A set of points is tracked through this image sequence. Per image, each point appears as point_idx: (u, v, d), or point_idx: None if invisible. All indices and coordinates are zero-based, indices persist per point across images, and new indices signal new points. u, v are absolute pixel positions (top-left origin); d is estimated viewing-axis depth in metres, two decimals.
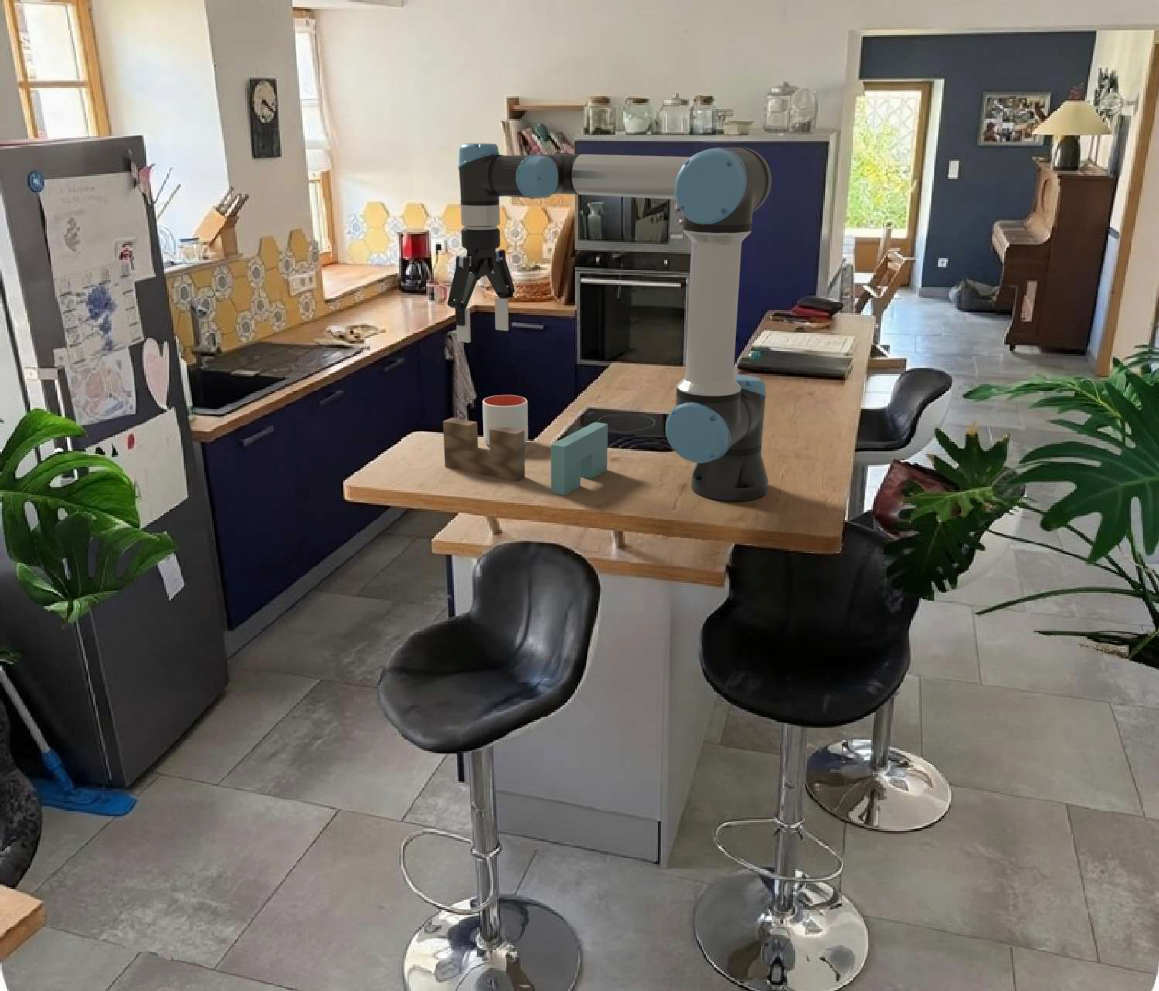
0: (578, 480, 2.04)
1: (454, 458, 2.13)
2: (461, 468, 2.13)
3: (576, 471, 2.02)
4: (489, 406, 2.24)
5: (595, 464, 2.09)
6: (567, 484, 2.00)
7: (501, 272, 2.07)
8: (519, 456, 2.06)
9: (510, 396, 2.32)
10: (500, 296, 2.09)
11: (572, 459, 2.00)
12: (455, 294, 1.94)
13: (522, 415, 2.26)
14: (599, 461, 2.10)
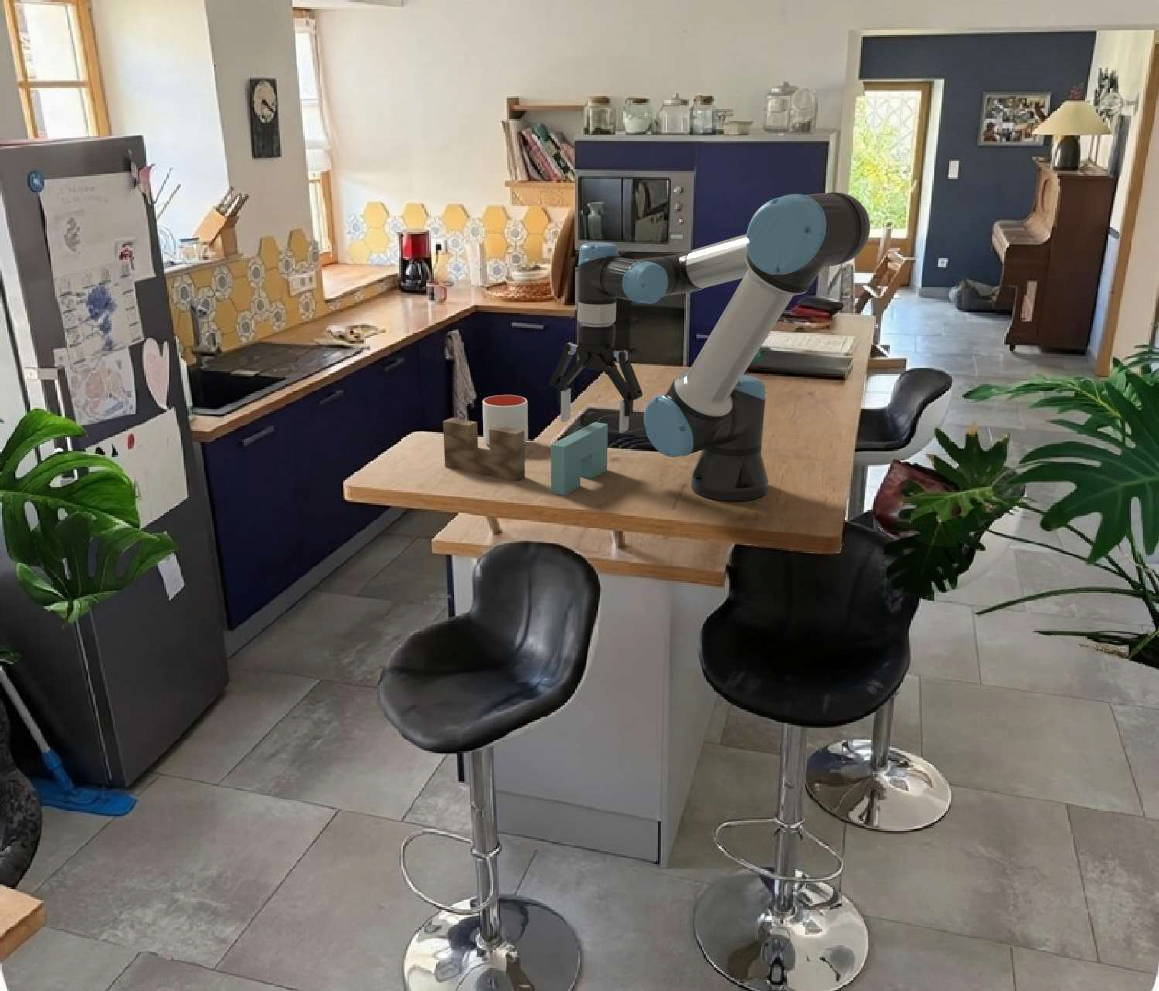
0: (578, 480, 2.04)
1: (454, 458, 2.13)
2: (461, 468, 2.13)
3: (576, 471, 2.02)
4: (489, 406, 2.24)
5: (595, 464, 2.09)
6: (567, 484, 2.00)
7: None
8: (519, 456, 2.06)
9: (510, 396, 2.32)
10: None
11: (572, 459, 2.00)
12: None
13: (522, 415, 2.26)
14: (599, 461, 2.10)
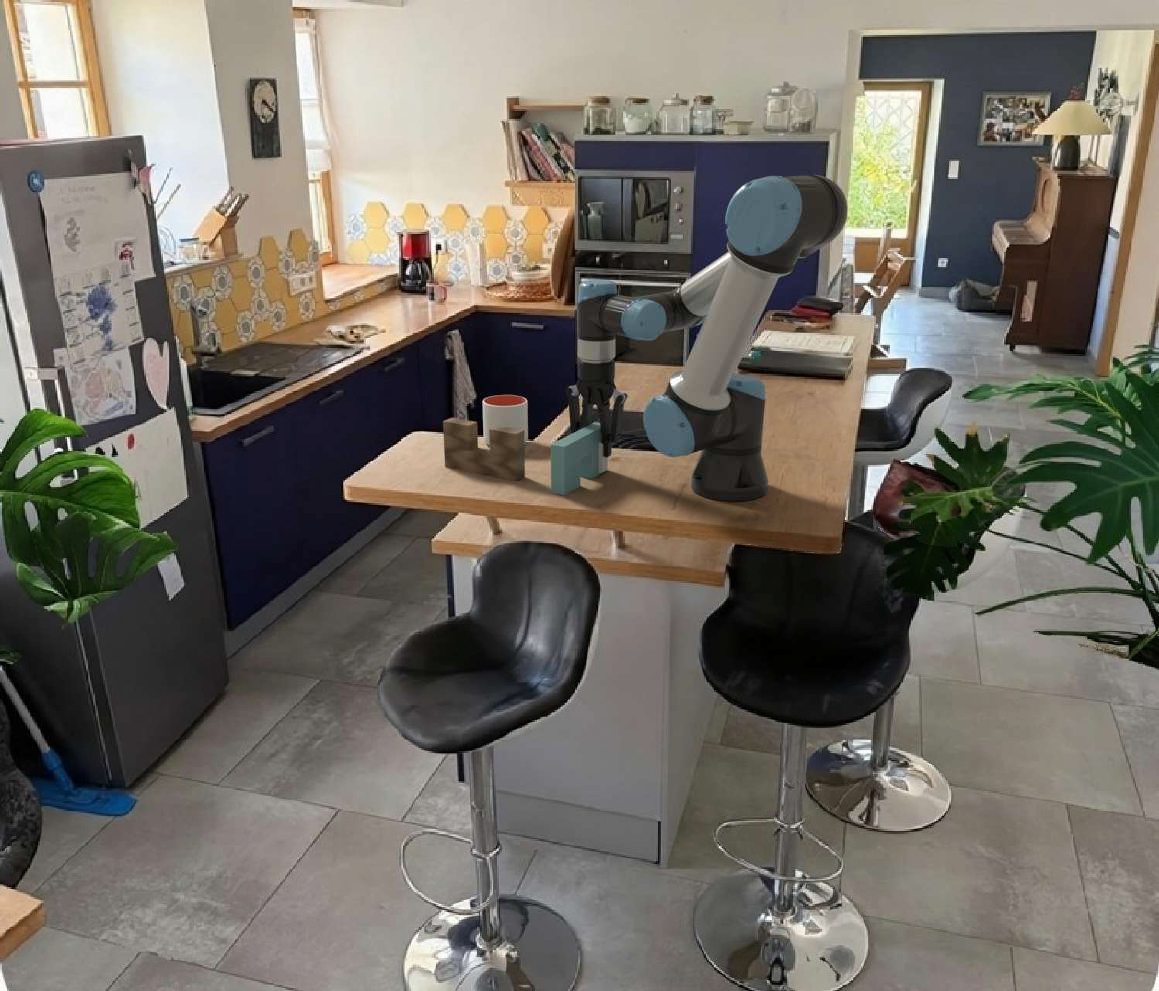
0: (578, 480, 2.04)
1: (454, 458, 2.13)
2: (461, 468, 2.13)
3: (576, 471, 2.02)
4: (489, 406, 2.24)
5: (595, 464, 2.09)
6: (567, 484, 2.00)
7: None
8: (519, 456, 2.06)
9: (510, 396, 2.32)
10: None
11: (572, 459, 2.00)
12: None
13: (522, 415, 2.26)
14: None
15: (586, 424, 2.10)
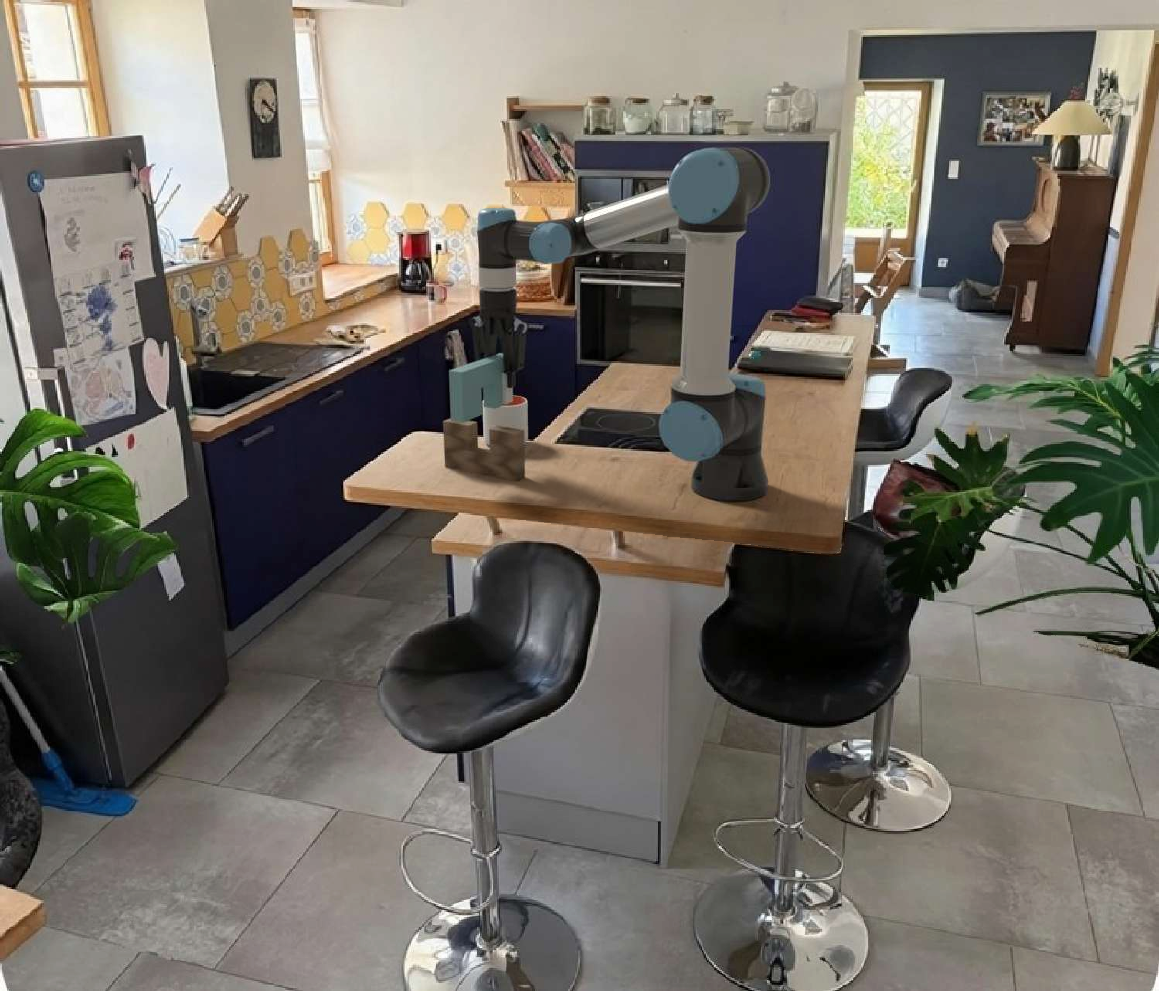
0: (479, 408, 2.04)
1: (454, 458, 2.13)
2: (461, 468, 2.13)
3: (476, 399, 2.03)
4: None
5: (499, 394, 2.10)
6: (467, 411, 2.00)
7: None
8: (519, 456, 2.06)
9: None
10: None
11: (471, 386, 2.00)
12: None
13: (522, 415, 2.26)
14: None
15: (490, 355, 2.10)
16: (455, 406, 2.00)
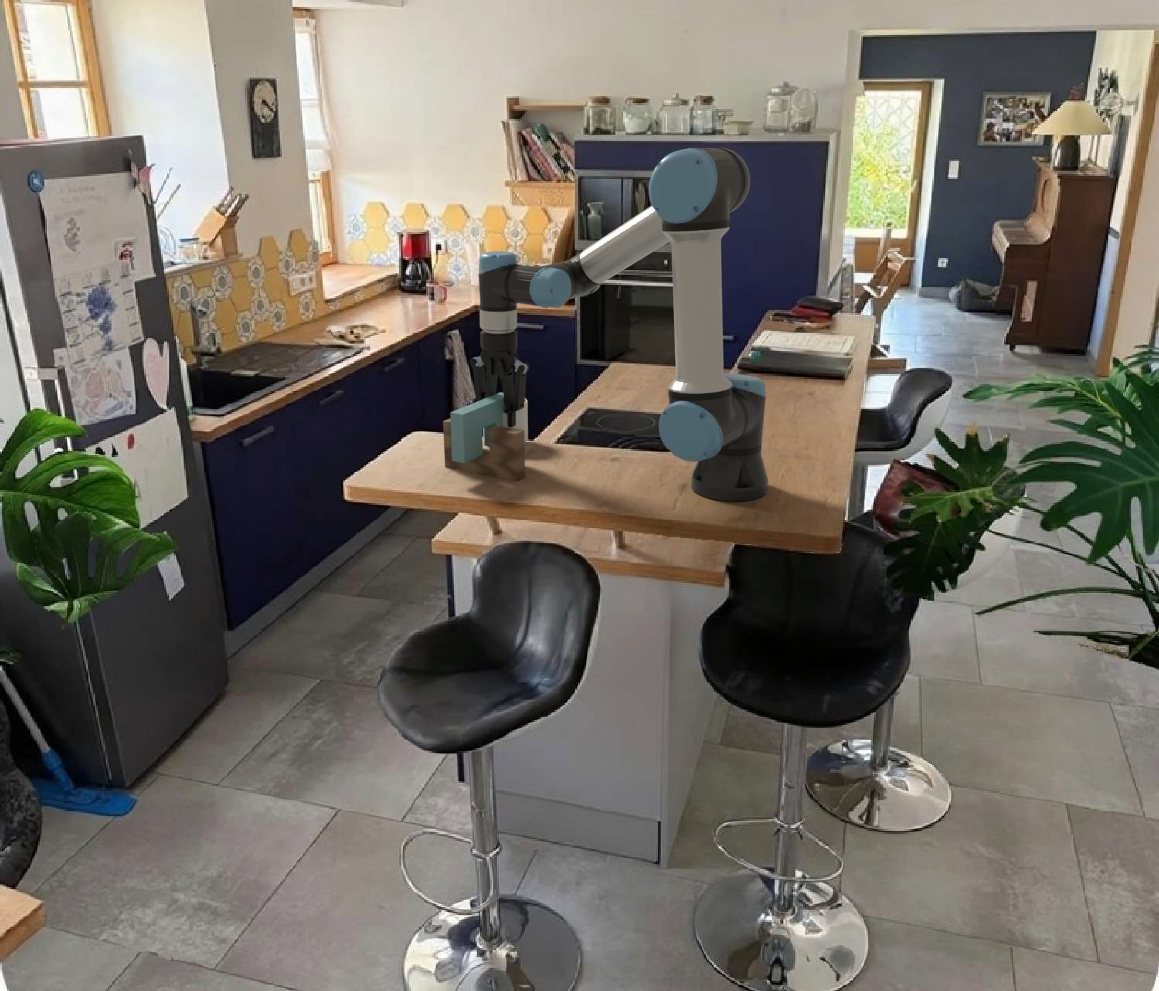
0: (480, 448, 2.07)
1: None
2: (461, 468, 2.13)
3: (477, 439, 2.06)
4: None
5: None
6: (468, 452, 2.03)
7: None
8: (519, 456, 2.06)
9: None
10: None
11: (472, 427, 2.03)
12: None
13: (522, 415, 2.26)
14: None
15: (491, 394, 2.13)
16: (456, 447, 2.03)
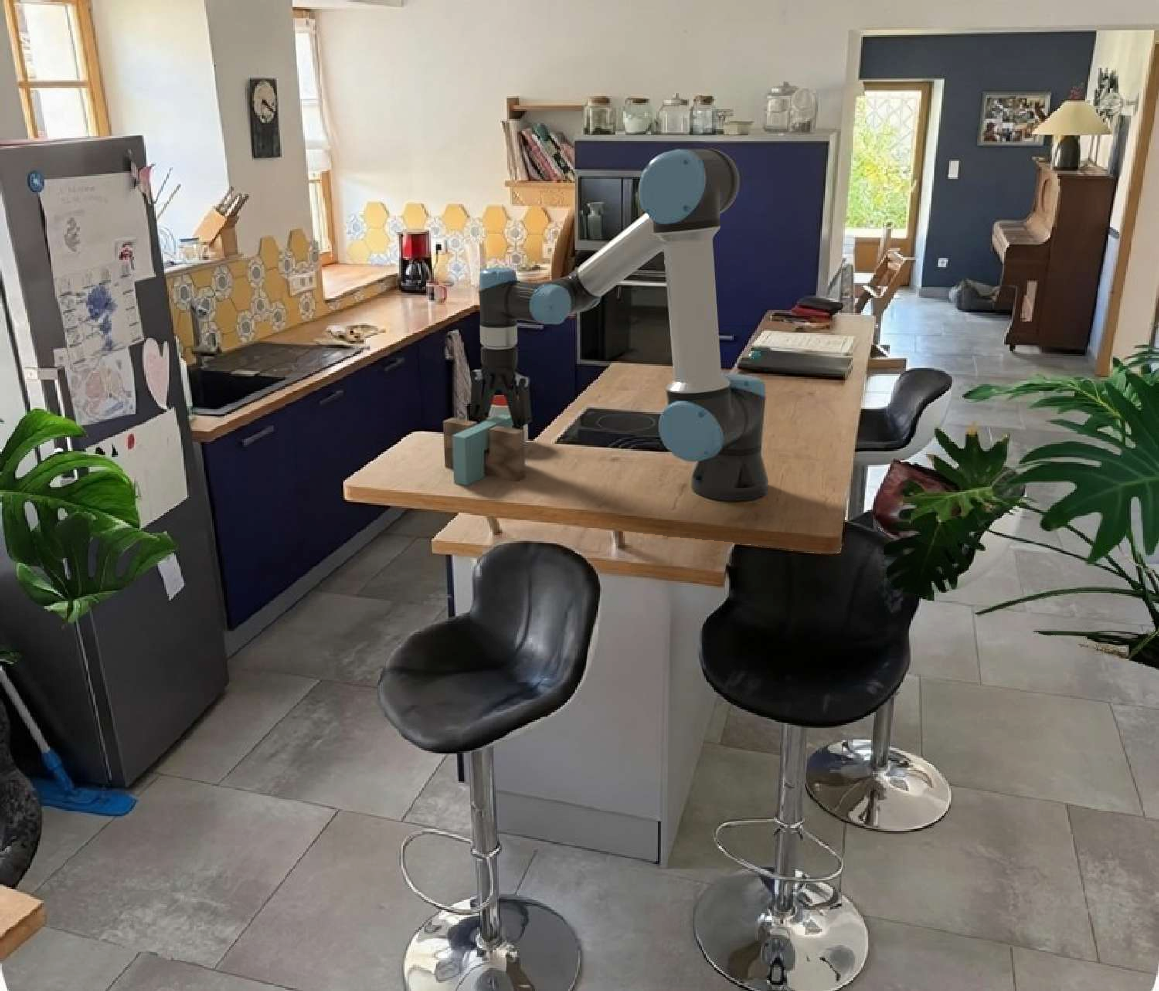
0: (482, 470, 2.09)
1: None
2: None
3: (479, 462, 2.07)
4: None
5: None
6: (469, 474, 2.05)
7: None
8: (519, 456, 2.06)
9: None
10: None
11: (474, 450, 2.05)
12: None
13: None
14: None
15: (486, 407, 2.15)
16: (458, 470, 2.04)
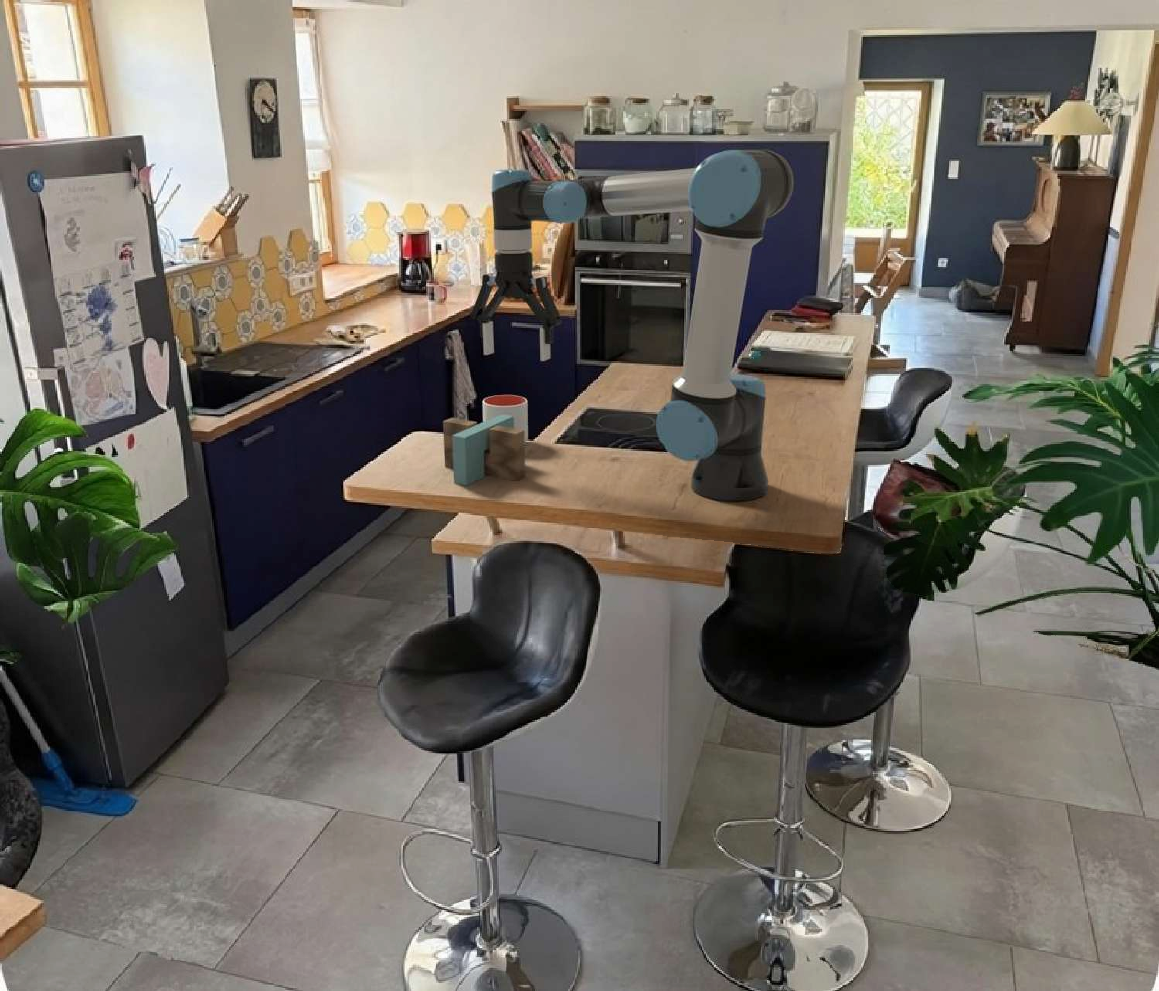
0: (482, 470, 2.09)
1: None
2: None
3: (479, 462, 2.07)
4: (489, 406, 2.24)
5: None
6: (469, 474, 2.05)
7: None
8: (519, 456, 2.06)
9: (510, 396, 2.32)
10: None
11: (474, 450, 2.05)
12: None
13: (522, 415, 2.26)
14: None
15: (490, 312, 2.08)
16: (458, 470, 2.04)
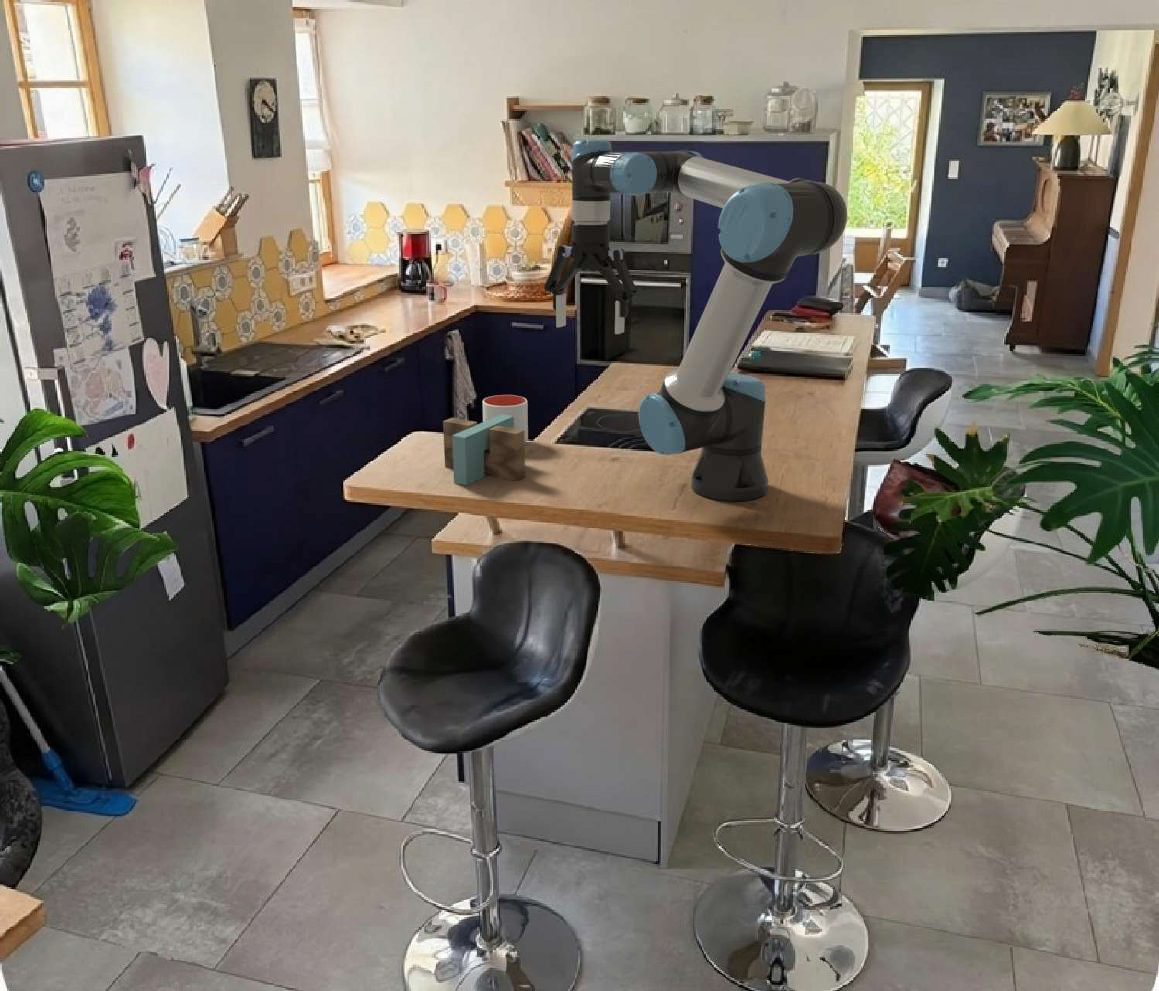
0: (482, 470, 2.09)
1: None
2: None
3: (479, 462, 2.07)
4: (489, 406, 2.24)
5: None
6: (469, 474, 2.05)
7: None
8: (519, 456, 2.06)
9: (510, 396, 2.32)
10: None
11: (474, 450, 2.05)
12: None
13: (522, 415, 2.26)
14: None
15: (564, 284, 2.07)
16: (458, 470, 2.04)
